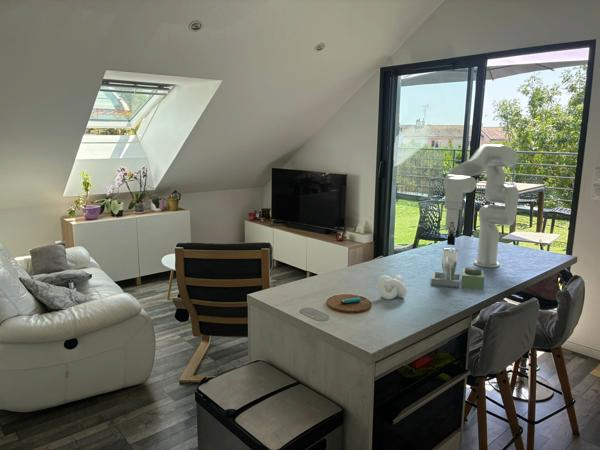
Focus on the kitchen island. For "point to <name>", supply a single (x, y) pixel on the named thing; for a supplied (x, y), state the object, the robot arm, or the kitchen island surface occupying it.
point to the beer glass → (449, 263)
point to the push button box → (470, 279)
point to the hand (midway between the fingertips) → (451, 242)
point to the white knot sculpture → (391, 287)
